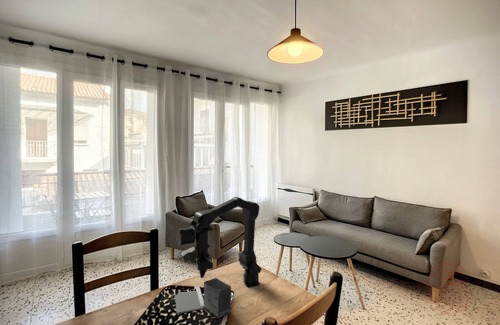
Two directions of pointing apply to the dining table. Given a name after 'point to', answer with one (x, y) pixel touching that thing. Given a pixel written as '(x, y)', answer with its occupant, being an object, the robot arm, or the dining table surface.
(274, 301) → the dining table surface
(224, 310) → the small box
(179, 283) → the dining table surface
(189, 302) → the mat
